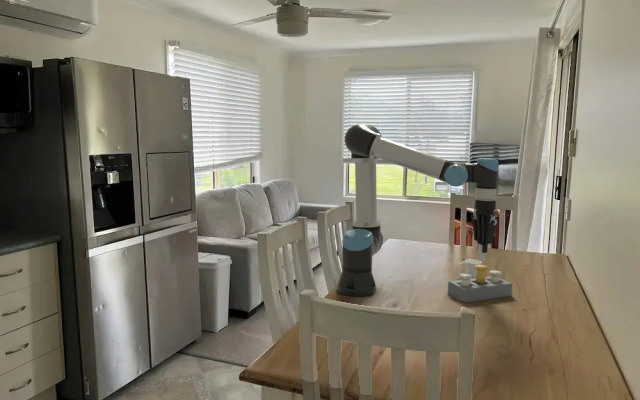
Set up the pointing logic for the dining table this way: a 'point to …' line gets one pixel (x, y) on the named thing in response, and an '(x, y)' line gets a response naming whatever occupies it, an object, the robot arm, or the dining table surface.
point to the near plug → (465, 279)
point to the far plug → (495, 276)
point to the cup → (470, 266)
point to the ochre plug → (480, 274)
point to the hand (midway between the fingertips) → (481, 260)
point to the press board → (479, 290)
